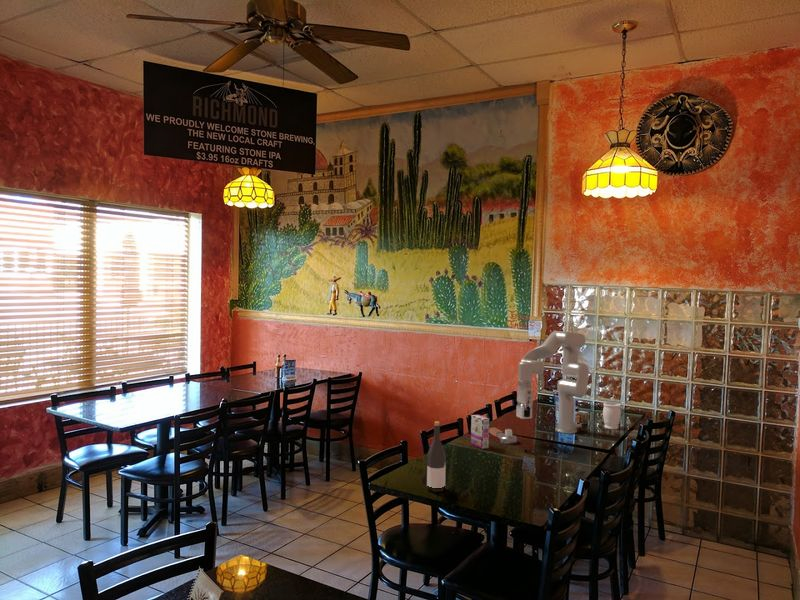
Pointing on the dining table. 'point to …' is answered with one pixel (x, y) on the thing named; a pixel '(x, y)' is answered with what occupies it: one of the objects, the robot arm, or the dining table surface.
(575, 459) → the dining table surface
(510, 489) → the dining table surface
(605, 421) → the jar
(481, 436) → the candy bar box
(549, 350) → the robot arm
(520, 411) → the socket
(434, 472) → the wine bottle
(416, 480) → the dining table surface
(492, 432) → the small pan
